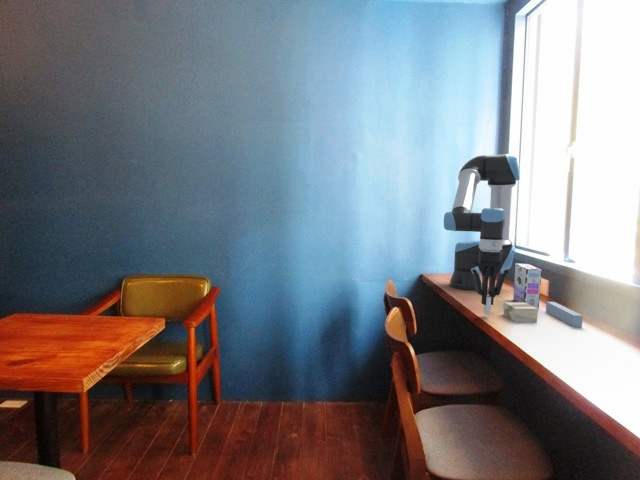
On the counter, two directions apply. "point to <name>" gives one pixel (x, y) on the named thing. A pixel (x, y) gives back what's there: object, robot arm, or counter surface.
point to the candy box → (527, 284)
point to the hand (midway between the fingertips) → (486, 313)
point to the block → (520, 312)
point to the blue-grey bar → (564, 314)
